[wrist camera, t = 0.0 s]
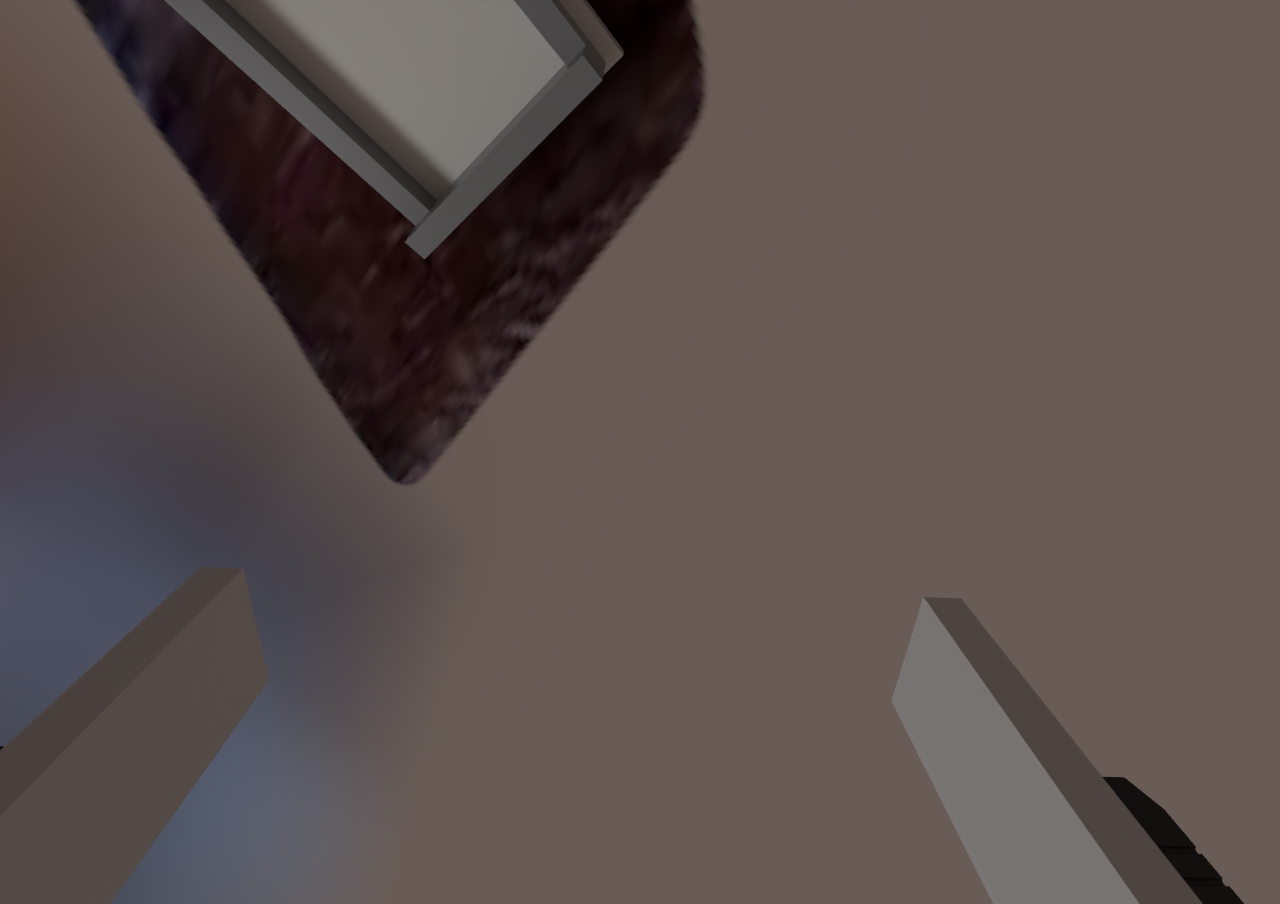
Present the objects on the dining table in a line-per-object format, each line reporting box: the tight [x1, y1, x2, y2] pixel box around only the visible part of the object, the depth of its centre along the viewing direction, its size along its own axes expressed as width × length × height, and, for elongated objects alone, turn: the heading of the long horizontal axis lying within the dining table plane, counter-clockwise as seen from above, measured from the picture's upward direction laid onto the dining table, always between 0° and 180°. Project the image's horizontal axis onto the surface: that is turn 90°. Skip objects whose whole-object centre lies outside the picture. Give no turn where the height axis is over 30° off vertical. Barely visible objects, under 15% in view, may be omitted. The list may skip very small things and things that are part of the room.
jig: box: [165, 0, 624, 259], centre depth 26 cm, size 14×17×4 cm
